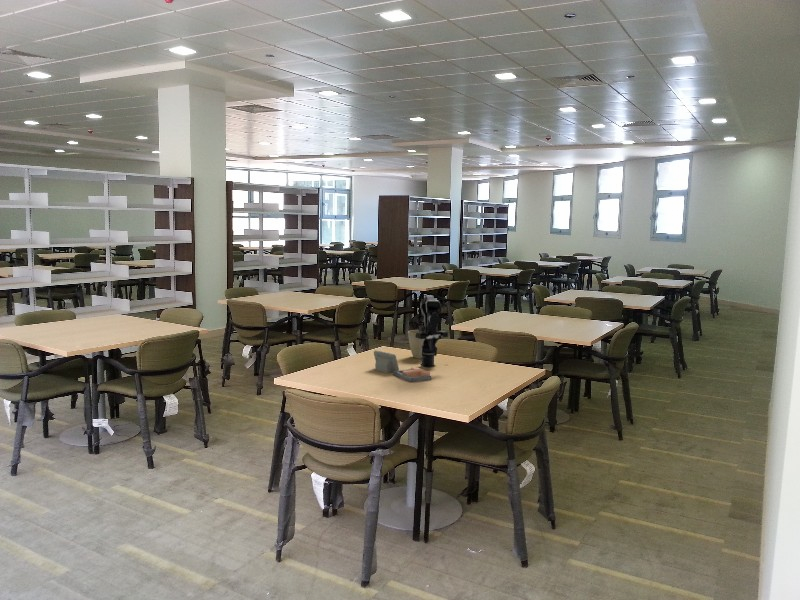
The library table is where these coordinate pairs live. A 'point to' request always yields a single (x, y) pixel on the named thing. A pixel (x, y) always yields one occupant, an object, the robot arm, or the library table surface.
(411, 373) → the t block
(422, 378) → the fence
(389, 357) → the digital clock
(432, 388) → the library table surface
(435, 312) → the robot arm
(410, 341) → the plant pot
